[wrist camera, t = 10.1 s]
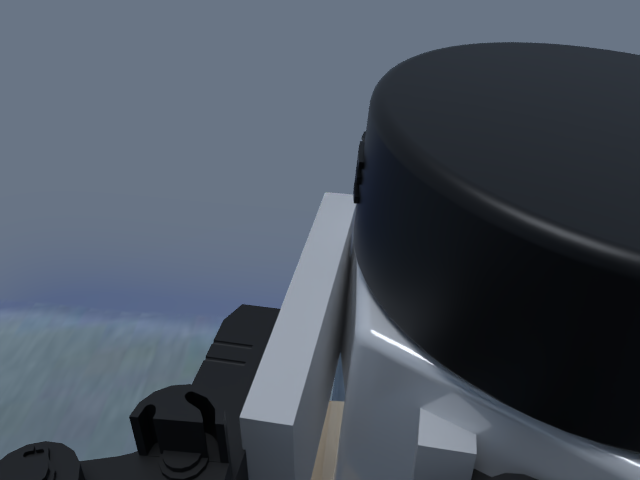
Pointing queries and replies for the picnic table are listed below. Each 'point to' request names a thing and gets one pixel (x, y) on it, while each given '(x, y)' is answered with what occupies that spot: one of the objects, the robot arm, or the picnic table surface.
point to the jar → (496, 265)
